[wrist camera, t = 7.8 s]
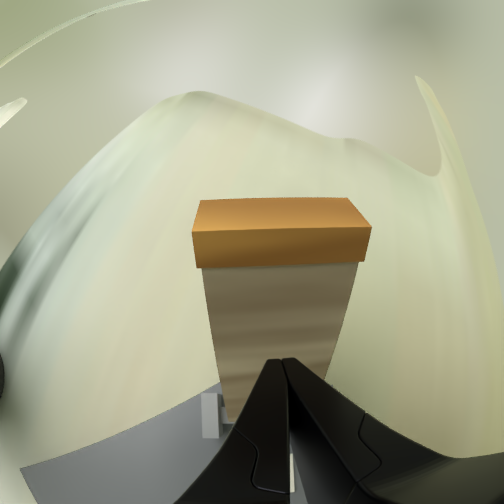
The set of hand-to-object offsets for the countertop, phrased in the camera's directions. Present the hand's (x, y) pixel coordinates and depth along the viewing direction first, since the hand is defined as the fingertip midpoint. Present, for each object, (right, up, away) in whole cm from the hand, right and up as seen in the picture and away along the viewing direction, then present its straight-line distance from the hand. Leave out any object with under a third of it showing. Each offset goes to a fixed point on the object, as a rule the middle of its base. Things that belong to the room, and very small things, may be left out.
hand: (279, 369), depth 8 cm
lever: (0, -5, +5) cm, 7 cm away
